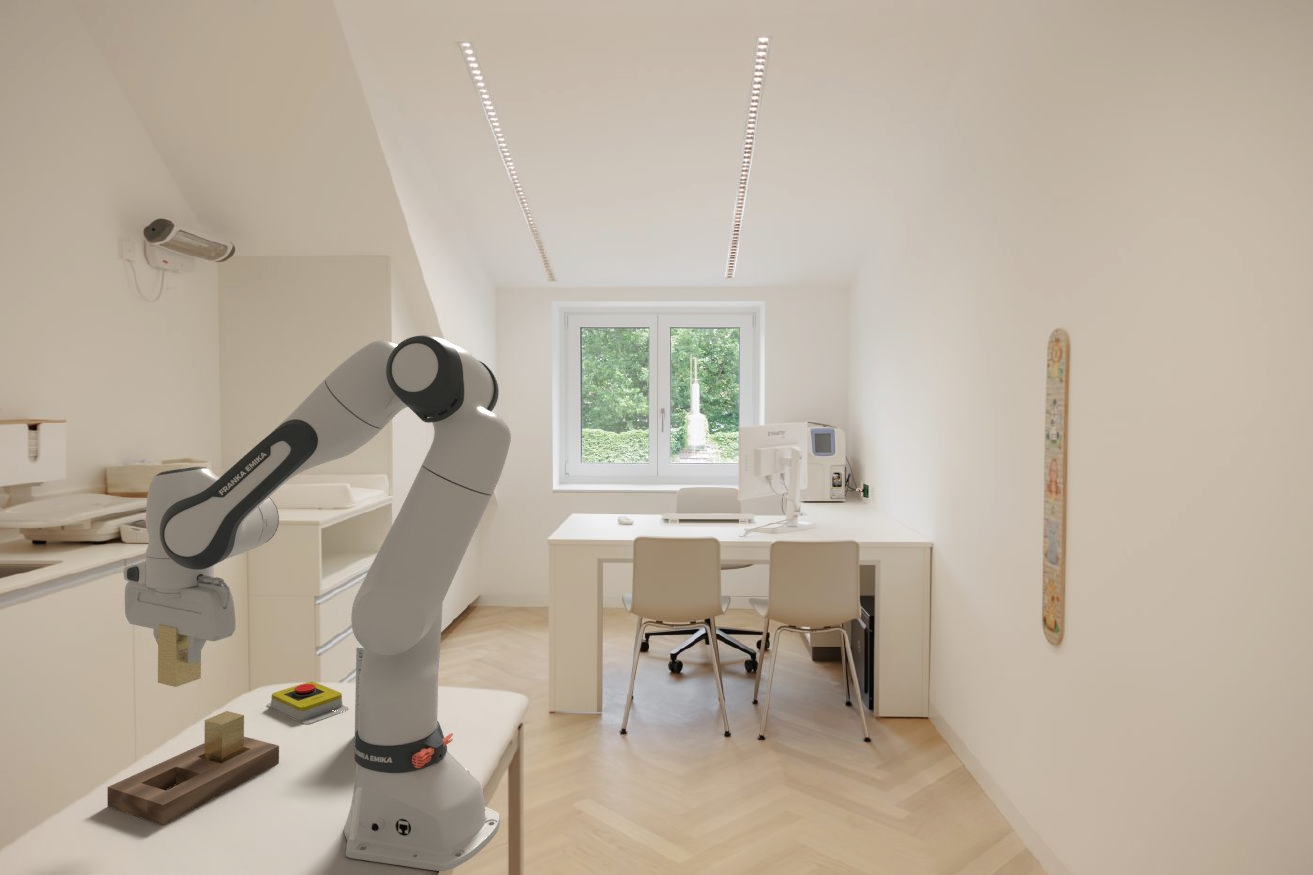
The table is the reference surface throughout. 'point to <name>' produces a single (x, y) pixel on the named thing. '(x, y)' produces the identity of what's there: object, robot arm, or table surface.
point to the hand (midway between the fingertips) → (179, 659)
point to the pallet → (188, 781)
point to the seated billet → (224, 737)
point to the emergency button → (307, 702)
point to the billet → (174, 658)
